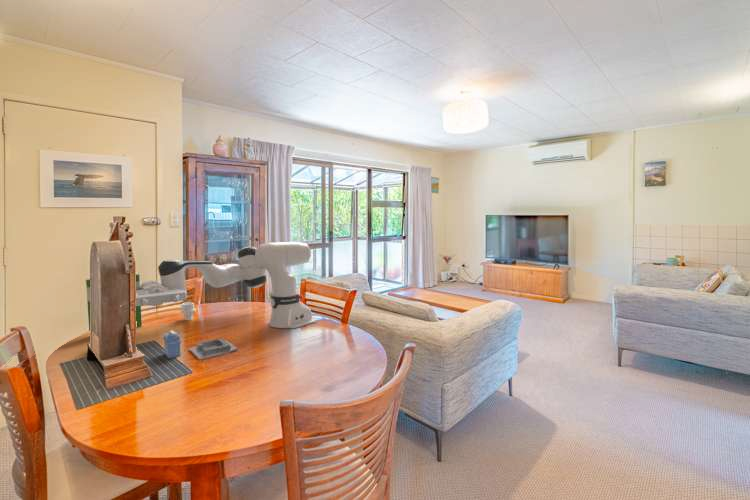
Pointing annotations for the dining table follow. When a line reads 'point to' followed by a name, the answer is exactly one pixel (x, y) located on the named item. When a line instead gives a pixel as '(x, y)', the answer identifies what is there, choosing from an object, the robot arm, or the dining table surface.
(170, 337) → the servo
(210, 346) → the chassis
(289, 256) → the robot arm
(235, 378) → the dining table surface
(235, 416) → the dining table surface
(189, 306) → the pipe fitting
